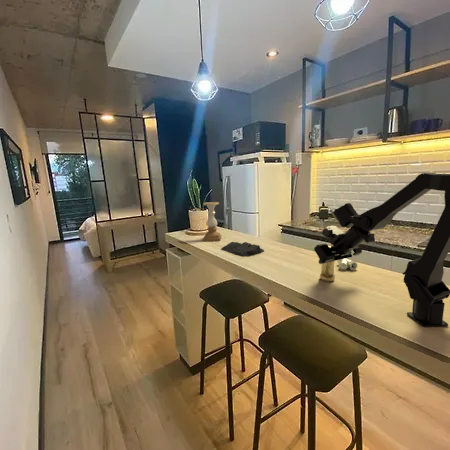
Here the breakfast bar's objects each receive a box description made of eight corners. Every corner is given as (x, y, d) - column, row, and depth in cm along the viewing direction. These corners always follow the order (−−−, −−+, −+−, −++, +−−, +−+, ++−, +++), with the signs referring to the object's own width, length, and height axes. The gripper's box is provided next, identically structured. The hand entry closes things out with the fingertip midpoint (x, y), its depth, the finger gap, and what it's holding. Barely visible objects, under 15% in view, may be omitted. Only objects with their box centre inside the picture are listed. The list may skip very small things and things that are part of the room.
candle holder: (220, 241, 166) (218, 203, 162) (202, 241, 167) (201, 203, 163) (221, 237, 177) (220, 201, 173) (205, 237, 178) (203, 202, 174)
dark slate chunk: (238, 245, 157) (238, 237, 156) (266, 252, 140) (266, 243, 139) (218, 250, 147) (218, 241, 146) (245, 258, 130) (245, 249, 129)
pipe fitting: (343, 272, 108) (357, 269, 109) (343, 263, 107) (357, 260, 109) (330, 266, 115) (344, 263, 117) (330, 258, 115) (343, 255, 116)
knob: (336, 281, 97) (338, 247, 95) (322, 282, 97) (324, 248, 95) (331, 276, 102) (332, 244, 100) (317, 277, 102) (319, 244, 100)
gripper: (356, 217, 96) (331, 240, 108) (318, 222, 88) (295, 247, 100) (375, 242, 91) (346, 264, 102) (337, 250, 83) (310, 273, 94)
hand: (324, 261), depth 100 cm, fingers open, 5 cm apart
